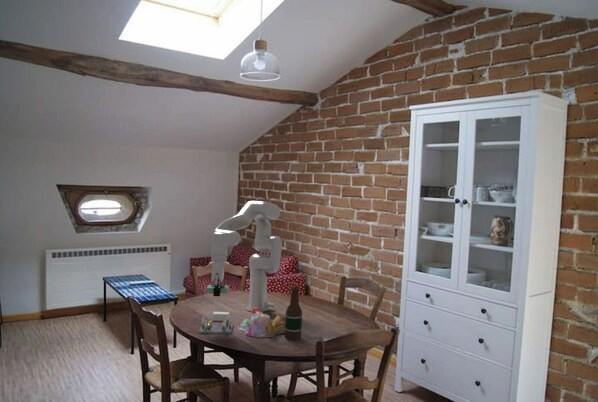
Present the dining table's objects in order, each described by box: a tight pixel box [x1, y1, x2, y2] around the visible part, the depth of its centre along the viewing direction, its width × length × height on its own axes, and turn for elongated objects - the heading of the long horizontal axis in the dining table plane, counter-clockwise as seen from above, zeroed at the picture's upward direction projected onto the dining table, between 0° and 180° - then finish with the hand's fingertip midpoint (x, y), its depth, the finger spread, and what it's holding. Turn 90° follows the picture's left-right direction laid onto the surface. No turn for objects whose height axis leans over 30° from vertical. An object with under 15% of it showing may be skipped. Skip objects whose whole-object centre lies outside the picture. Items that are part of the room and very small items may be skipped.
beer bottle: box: [284, 286, 303, 342], centre depth 210 cm, size 8×8×24 cm
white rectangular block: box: [212, 311, 230, 322], centre depth 233 cm, size 8×4×4 cm, turn 92°
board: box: [205, 284, 230, 294], centre depth 217 cm, size 10×6×3 cm, turn 92°
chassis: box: [198, 313, 234, 335], centre depth 218 cm, size 15×12×6 cm
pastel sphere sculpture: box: [237, 307, 285, 338], centre depth 221 cm, size 25×24×9 cm
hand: (217, 294), depth 217 cm, fingers closed on board, 6 cm apart
